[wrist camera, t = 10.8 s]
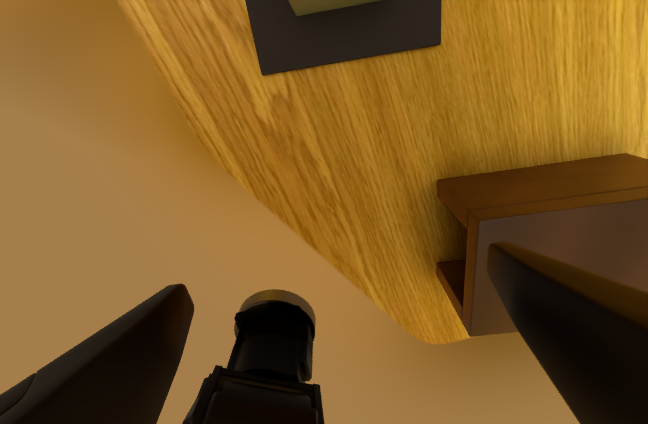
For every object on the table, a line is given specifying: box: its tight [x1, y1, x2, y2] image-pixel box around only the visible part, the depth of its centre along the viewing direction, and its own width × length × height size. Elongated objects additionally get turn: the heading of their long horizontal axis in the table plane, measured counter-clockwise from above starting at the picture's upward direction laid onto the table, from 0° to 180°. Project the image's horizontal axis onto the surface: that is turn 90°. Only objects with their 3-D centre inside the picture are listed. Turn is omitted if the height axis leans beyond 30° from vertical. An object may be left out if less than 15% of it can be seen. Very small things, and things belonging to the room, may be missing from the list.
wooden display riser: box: [437, 153, 648, 337], centre depth 19 cm, size 12×8×6 cm, turn 99°
